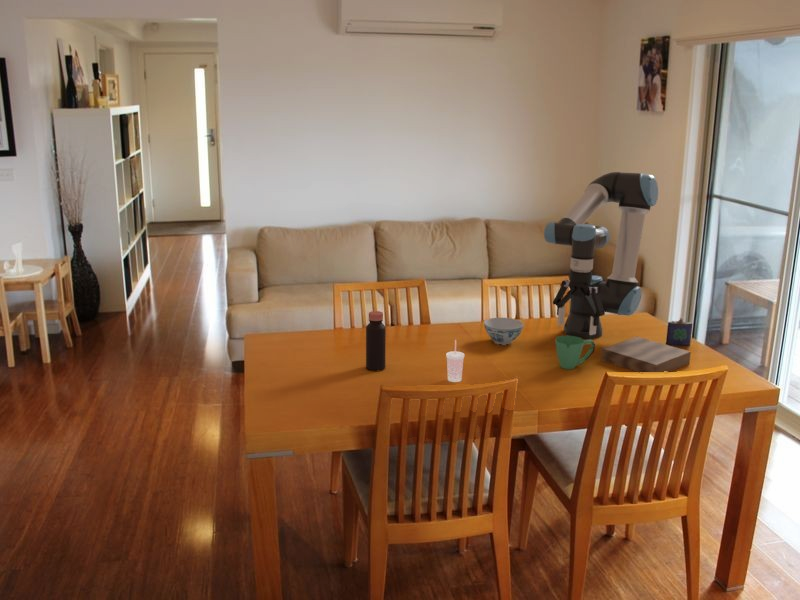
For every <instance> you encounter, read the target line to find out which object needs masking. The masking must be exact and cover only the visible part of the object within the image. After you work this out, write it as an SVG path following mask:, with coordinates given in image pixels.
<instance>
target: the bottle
mask: <svg viewBox="0 0 800 600" xmlns="http://www.w3.org/2000/svg"><path fill="white" fill-rule="evenodd" d="M368 321H369V323H368V324H367V325H366V326H365V368H366V369H367V370H368V369H369V370H368V371H370V370H374V371H373V372H378V371H377V370H381V371H384V370H385V369H386V343H387V342H386V339H387V338H386V337H387V335H386V334H387V333H386V330H387V329H386V326H385V324H384V323H383V321H384V312H383V311H378V310H371V311H369V312H368ZM383 369H384V370H383Z"/></svg>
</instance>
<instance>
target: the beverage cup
mask: <svg viewBox="0 0 800 600" xmlns="http://www.w3.org/2000/svg"><path fill="white" fill-rule="evenodd" d="M445 358H446V365H447V369H446V370H447V381H448V382H452V383H458V382H461V381H462V380H463V378H462V377H463V370H464V369H463V368H464V365H463V364H464V358H465V353H464V352H461V351H457V339H455V340H454V350H453V351H452V350H451V351H448V352H446V354H445Z"/></svg>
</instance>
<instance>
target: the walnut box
mask: <svg viewBox="0 0 800 600" xmlns="http://www.w3.org/2000/svg"><path fill="white" fill-rule="evenodd" d="M691 353H692V352H691V351H690V350H686V349H682V348H679V347H677V346H670V345H666V343H661V342H657V341H654V340H650V339H647V338H644V337H639V336H635V337H632V338H628V339H625V340H621V341H620V342H616V343H614V344H611V345H608V346H605V347H602V348H601V356H600V357H601V358H600V360H601V361H602V360H603V361H602V362H605V361H606V362H605V363H608V362H609V363H608V364H611V363H612V365H615V364H616V366H618V367H621V368H624V369H627V370H631V371H633V370H634V372H636V371H637V373H640V372H664V371H670V372H672V371H675V370H677V369H679V368H682V367H684V366H687V365H689V364H690V363H691V362H690V360H691Z"/></svg>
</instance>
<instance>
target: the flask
mask: <svg viewBox="0 0 800 600" xmlns="http://www.w3.org/2000/svg"><path fill="white" fill-rule="evenodd" d="M666 331H667V332H666V337H665V338H666V340H665V341H666V342H665V345H666V344H667V345H669V346H670V345H672V347H679V346H680V347H688V346H691V343H692V342H691V341H692V334H693V333H692V332H693V322H691V321H684V318H683V317H680V318H679V320H675V321H674V320H672V321H668V322H667V329H666Z"/></svg>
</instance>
